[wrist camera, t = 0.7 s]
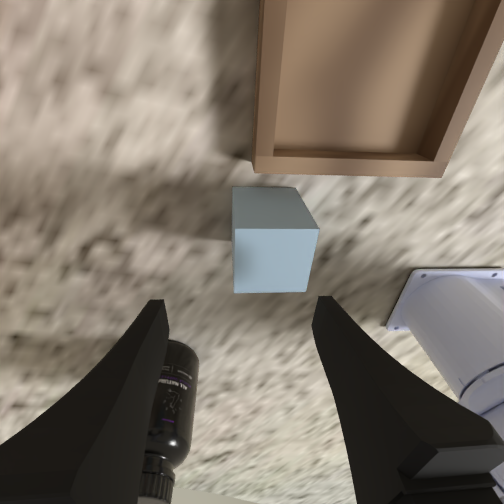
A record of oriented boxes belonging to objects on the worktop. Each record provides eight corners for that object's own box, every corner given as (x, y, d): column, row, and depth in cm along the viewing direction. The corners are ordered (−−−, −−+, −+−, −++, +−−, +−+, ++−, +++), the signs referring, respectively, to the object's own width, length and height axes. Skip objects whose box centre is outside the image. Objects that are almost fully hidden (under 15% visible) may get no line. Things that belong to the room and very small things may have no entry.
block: (295, 187, 19) (319, 229, 15) (287, 241, 22) (305, 291, 17) (232, 186, 19) (235, 228, 14) (231, 241, 22) (233, 293, 17)
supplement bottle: (193, 334, 27) (175, 486, 17) (204, 373, 31) (195, 515, 21) (123, 341, 27) (66, 500, 17) (144, 379, 31) (106, 527, 21)
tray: (523, -94, 13) (576, -122, 11) (420, 166, 19) (441, 177, 17) (266, -129, 11) (274, -168, 10) (251, 161, 18) (254, 173, 16)
